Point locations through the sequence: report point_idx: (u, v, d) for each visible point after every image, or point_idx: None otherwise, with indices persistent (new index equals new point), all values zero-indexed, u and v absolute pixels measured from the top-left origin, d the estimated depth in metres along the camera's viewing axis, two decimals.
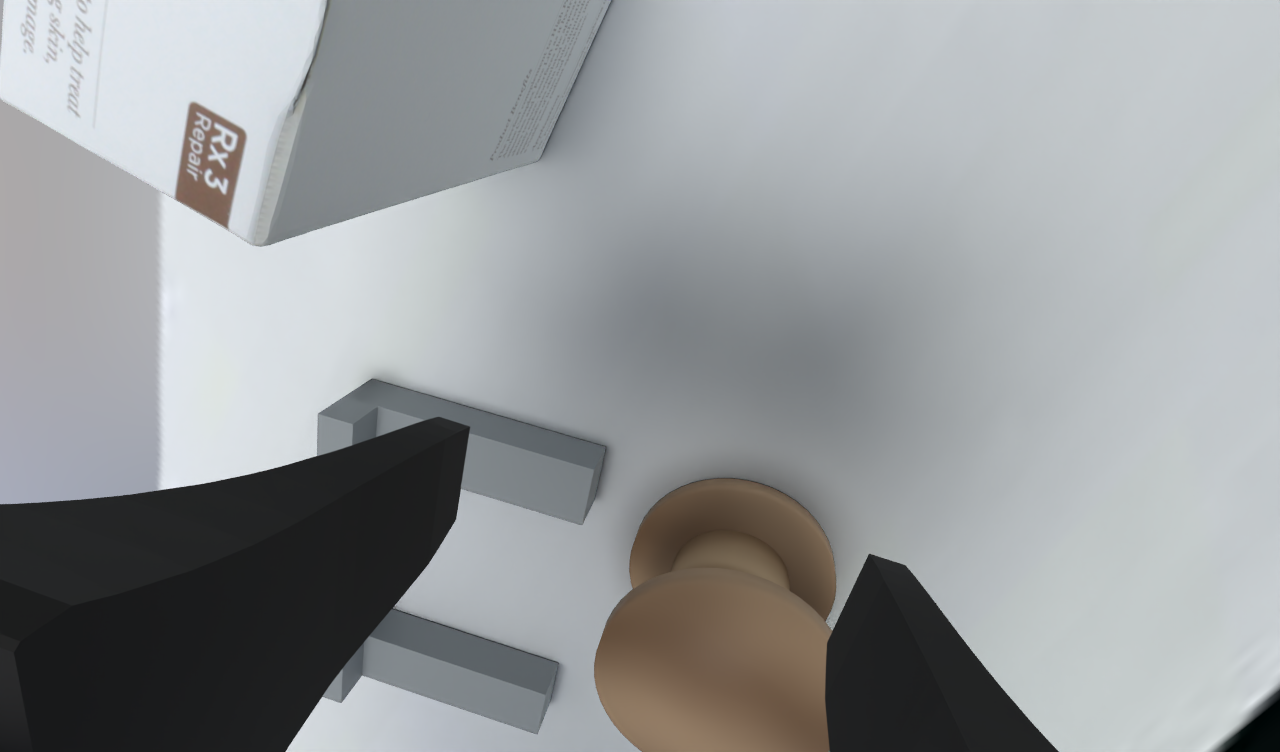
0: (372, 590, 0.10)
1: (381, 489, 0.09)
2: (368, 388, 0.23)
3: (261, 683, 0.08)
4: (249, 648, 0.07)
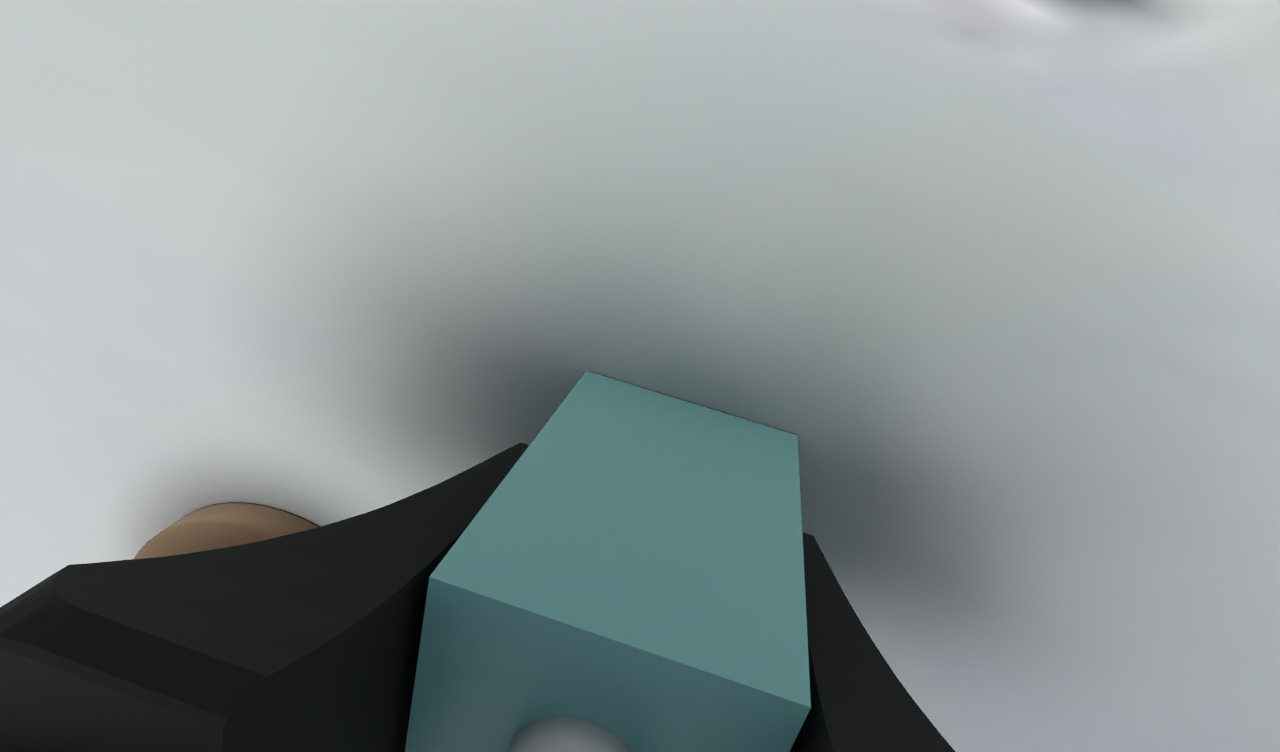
0: None
1: None
2: None
3: (384, 728, 0.07)
4: (380, 696, 0.07)
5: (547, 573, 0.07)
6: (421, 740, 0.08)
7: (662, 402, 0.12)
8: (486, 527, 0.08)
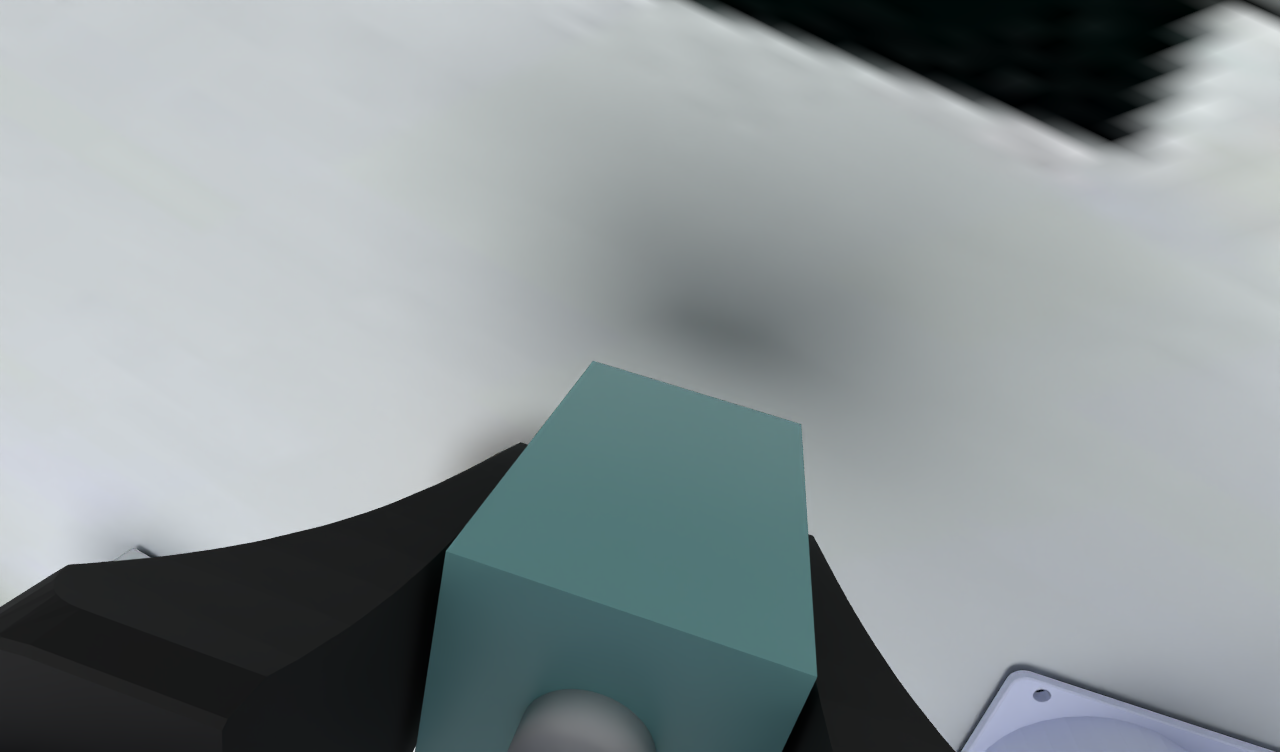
0: None
1: None
2: None
3: (383, 728, 0.07)
4: (379, 695, 0.07)
5: (559, 550, 0.07)
6: (435, 714, 0.08)
7: (668, 391, 0.12)
8: (499, 506, 0.08)
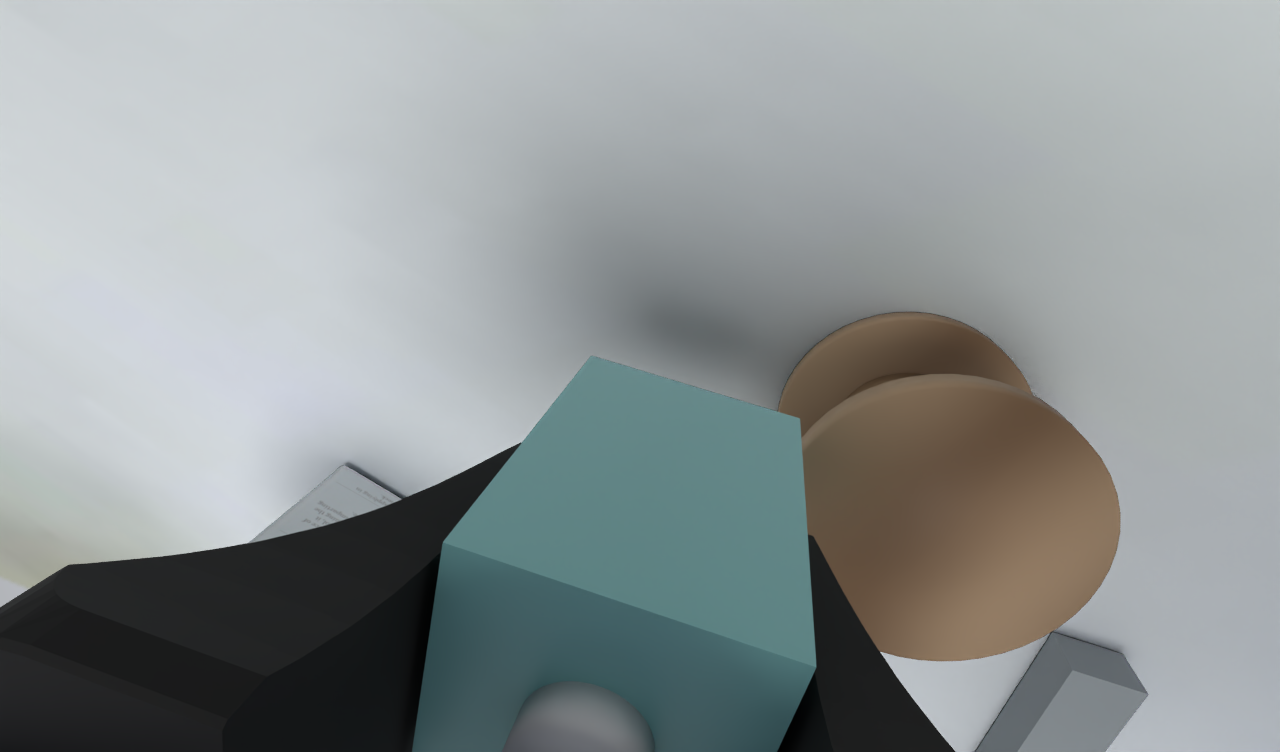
0: None
1: None
2: None
3: (383, 728, 0.07)
4: (380, 696, 0.07)
5: (557, 541, 0.07)
6: (433, 707, 0.08)
7: (666, 385, 0.12)
8: (497, 498, 0.08)
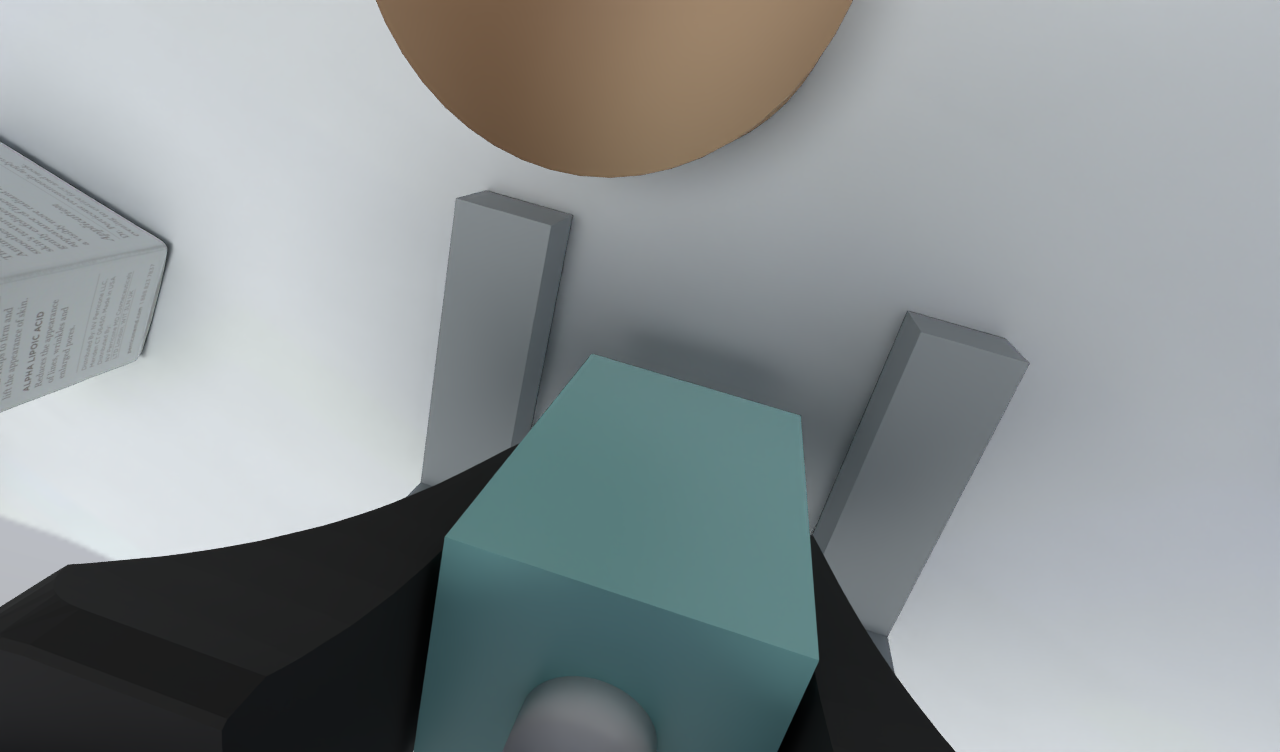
0: None
1: None
2: None
3: (383, 728, 0.07)
4: (379, 696, 0.07)
5: (559, 537, 0.07)
6: (435, 703, 0.08)
7: (667, 383, 0.12)
8: (498, 493, 0.08)
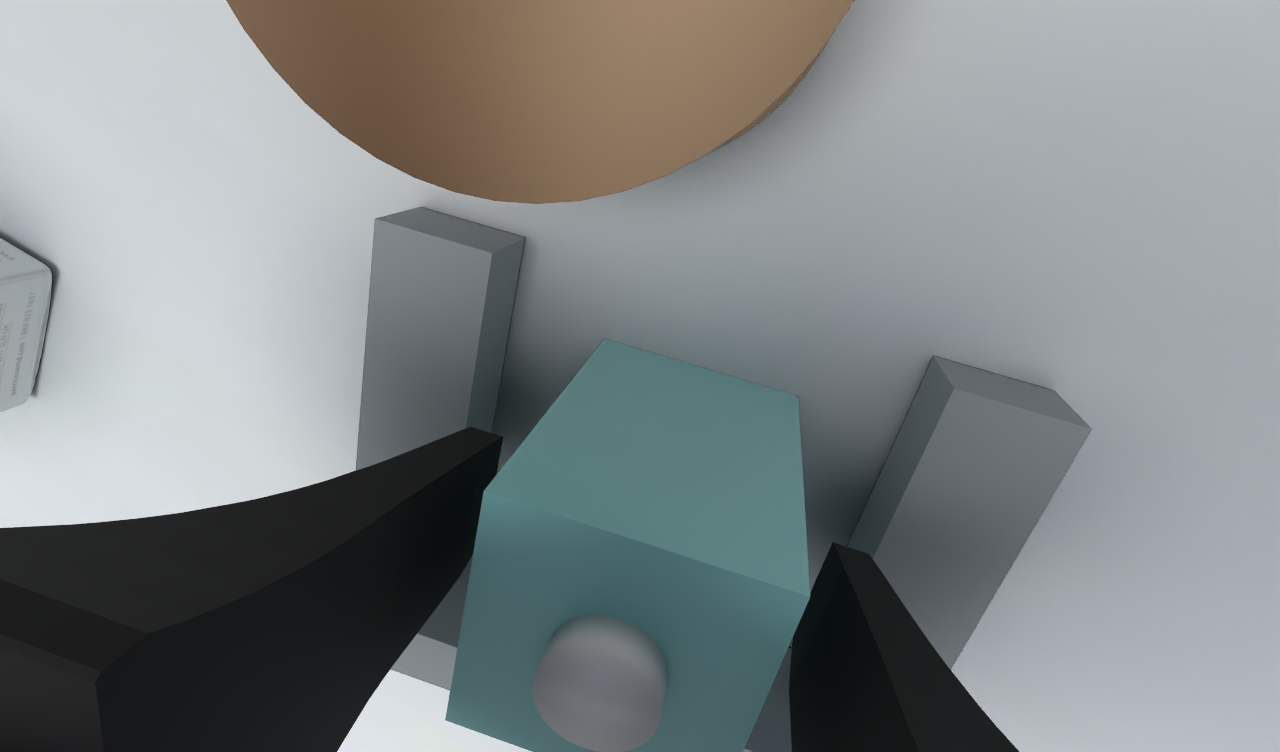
0: (410, 603, 0.10)
1: (422, 503, 0.09)
2: None
3: (309, 701, 0.08)
4: (300, 667, 0.07)
5: (582, 493, 0.08)
6: (471, 642, 0.09)
7: (674, 365, 0.13)
8: (527, 456, 0.09)
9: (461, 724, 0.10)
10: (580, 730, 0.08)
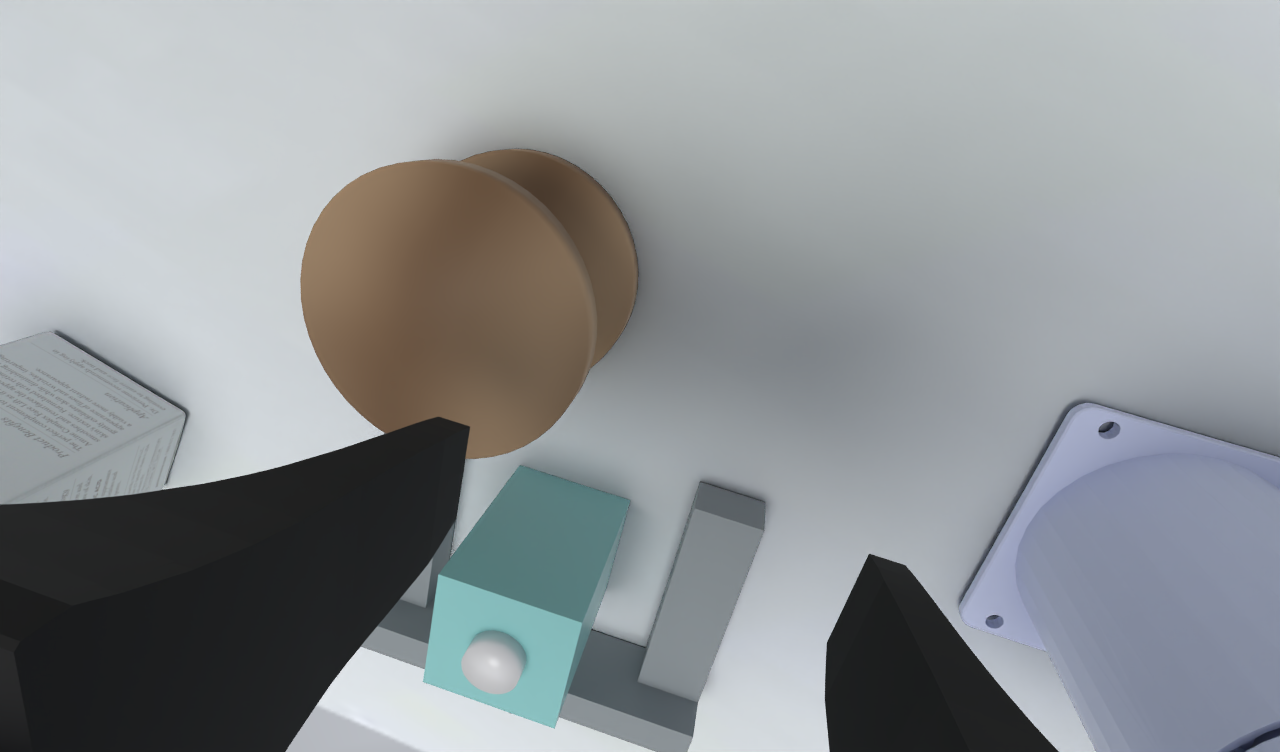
0: (372, 590, 0.10)
1: (381, 489, 0.09)
2: None
3: (261, 683, 0.08)
4: (249, 648, 0.07)
5: (485, 573, 0.18)
6: (435, 643, 0.18)
7: (558, 483, 0.23)
8: (461, 553, 0.18)
9: (431, 683, 0.19)
10: (483, 684, 0.18)
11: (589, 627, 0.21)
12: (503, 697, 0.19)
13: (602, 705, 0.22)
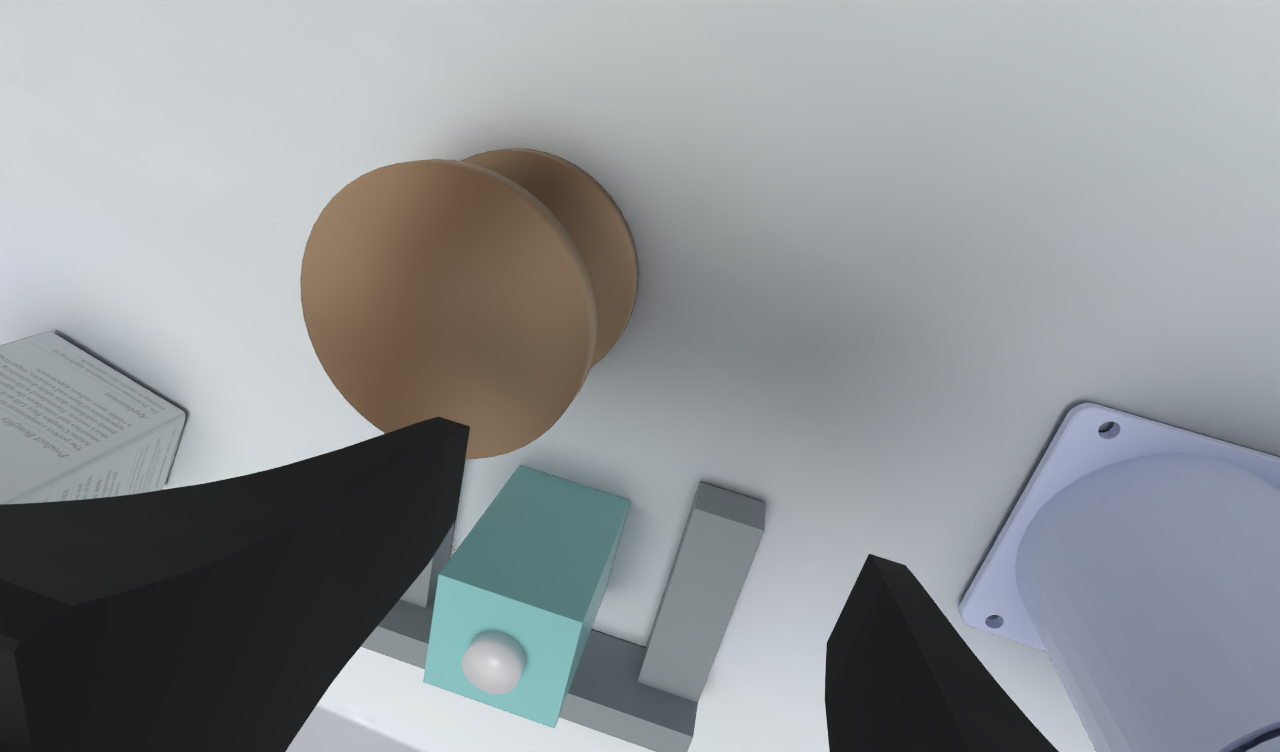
0: (372, 590, 0.10)
1: (381, 489, 0.09)
2: None
3: (261, 683, 0.08)
4: (249, 648, 0.07)
5: (485, 573, 0.18)
6: (435, 643, 0.18)
7: (558, 483, 0.23)
8: (462, 553, 0.18)
9: (431, 683, 0.19)
10: (483, 684, 0.18)
11: (589, 627, 0.21)
12: (503, 696, 0.19)
13: (602, 705, 0.22)
